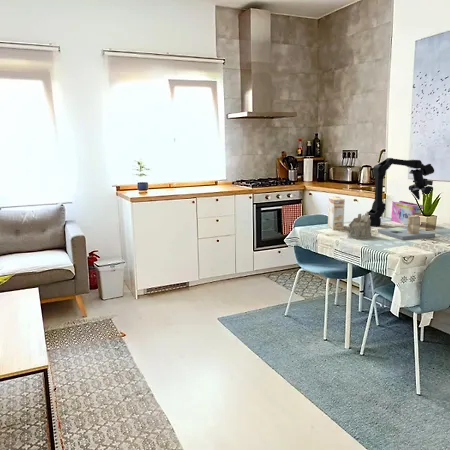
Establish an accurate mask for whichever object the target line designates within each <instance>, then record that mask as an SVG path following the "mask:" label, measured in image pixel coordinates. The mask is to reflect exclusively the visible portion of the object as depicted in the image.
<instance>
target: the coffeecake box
mask: <svg viewBox="0 0 450 450" xmlns="http://www.w3.org/2000/svg"><path fill="white" fill-rule="evenodd" d="M345 203H346V202H345V198H342V197H341V196H328V205H327V206H328V208H327V209H328V210H327V211H328V212H327V226H328V227H329V228H330V229H332V230H334V231H335V230H336V231H337V230H339V231H340V230H342V231H343V230H344V227H345V226H344V222H345V221H344V220H345Z"/></svg>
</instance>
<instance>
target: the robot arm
mask: <svg viewBox="0 0 450 450" xmlns="http://www.w3.org/2000/svg"><path fill="white" fill-rule="evenodd" d="M393 165H396V166H403V167H404V166H405V167H407V168H409V169H411V170H410V171H409V174H411V175H412V177H413V180H412V183H413V184H412V185H409V186H408V190H409V191H410V192H411V193H412V195H414V197H415V198H416V199H417V200H419V201H420V200H421V199H420V197H421V196H420V191H421V195H422V196H423V193H425V194H427V193H428V194H429V193H431V192H430V191H431V189H432V192H433V191H434V187H433V182H434V180H432V179H431V180H429V179H428V178H425V177H426V176H430V175H432V174H434V173H435V168H434V167H433V165H432V164H431V163H426V164H425V165H424V163H423V162H422V160H420V159H400V158H399V159H398V158H392V157H386V158H385V159H384V160H382V161H381V162H379V163H378V164H376V165H374V166H373V167H372V172H373V176H374V179H375V182H374V200H373V203H372V204H371V209H370V210H369V211H368V212H369V213H368V214H369V216H370V220H371V222H370V227H380V226H381V225H382V224H381V223H382V217H383V215H384V213H385V211H386V202H383V195H384V194H383V191H384V189H383V188H384V178H385V176H386V173H387V171H388V170H389V169H390V167H391V166H393ZM429 195H430V194H429Z"/></svg>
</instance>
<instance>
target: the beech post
mask: <svg viewBox="0 0 450 450" xmlns="http://www.w3.org/2000/svg"><path fill="white" fill-rule="evenodd" d="M406 227H407V233H410V234H419V229H420V227H421V226H420V217H419V216H415V215H414V216H408V225H406Z"/></svg>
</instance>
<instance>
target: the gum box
mask: <svg viewBox="0 0 450 450" xmlns="http://www.w3.org/2000/svg"><path fill="white" fill-rule="evenodd" d="M417 204H418V203H413V202H409V201H408V202H407V201H403V200H399V201H392V205H391V218H390V219H391V220H390V221H393V222H396V223H399V224H402V223H403V225H405V226H408V216H414V215H419V214H421V211H420V209H419V206H420V208H421V209H423V210H424V204H419V206H418V205H417Z"/></svg>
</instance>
